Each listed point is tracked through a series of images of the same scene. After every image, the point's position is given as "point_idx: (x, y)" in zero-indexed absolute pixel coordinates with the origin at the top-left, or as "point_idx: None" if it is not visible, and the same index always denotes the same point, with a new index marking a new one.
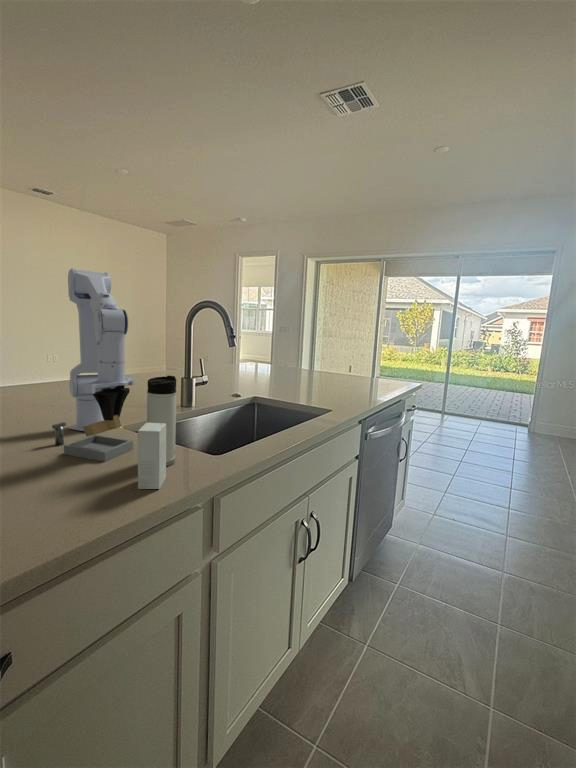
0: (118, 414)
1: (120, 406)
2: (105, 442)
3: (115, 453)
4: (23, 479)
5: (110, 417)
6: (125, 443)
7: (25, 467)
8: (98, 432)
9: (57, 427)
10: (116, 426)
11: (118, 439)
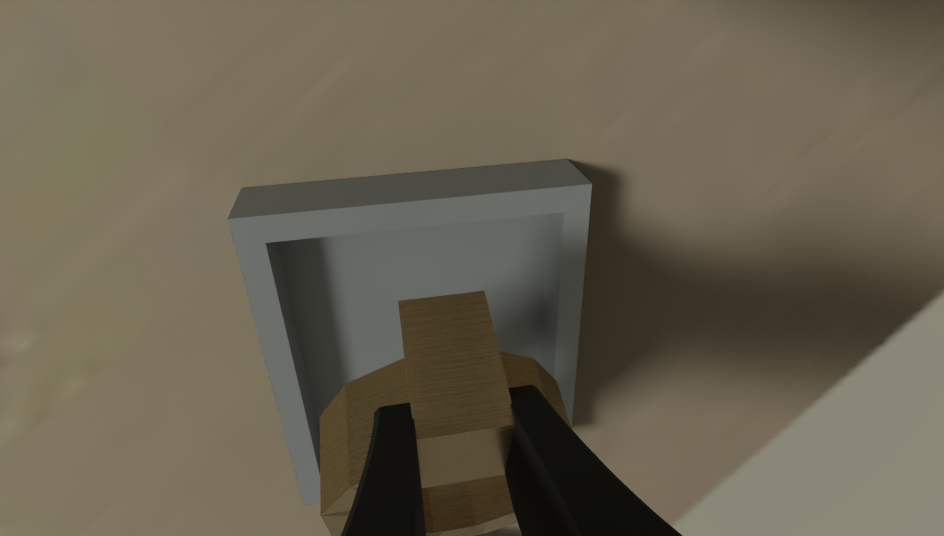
0: (415, 432)
1: (405, 522)
2: (311, 396)
3: (465, 177)
4: (880, 295)
5: (553, 410)
6: (337, 212)
7: (751, 399)
8: (545, 375)
9: None
10: (479, 306)
11: (287, 328)
